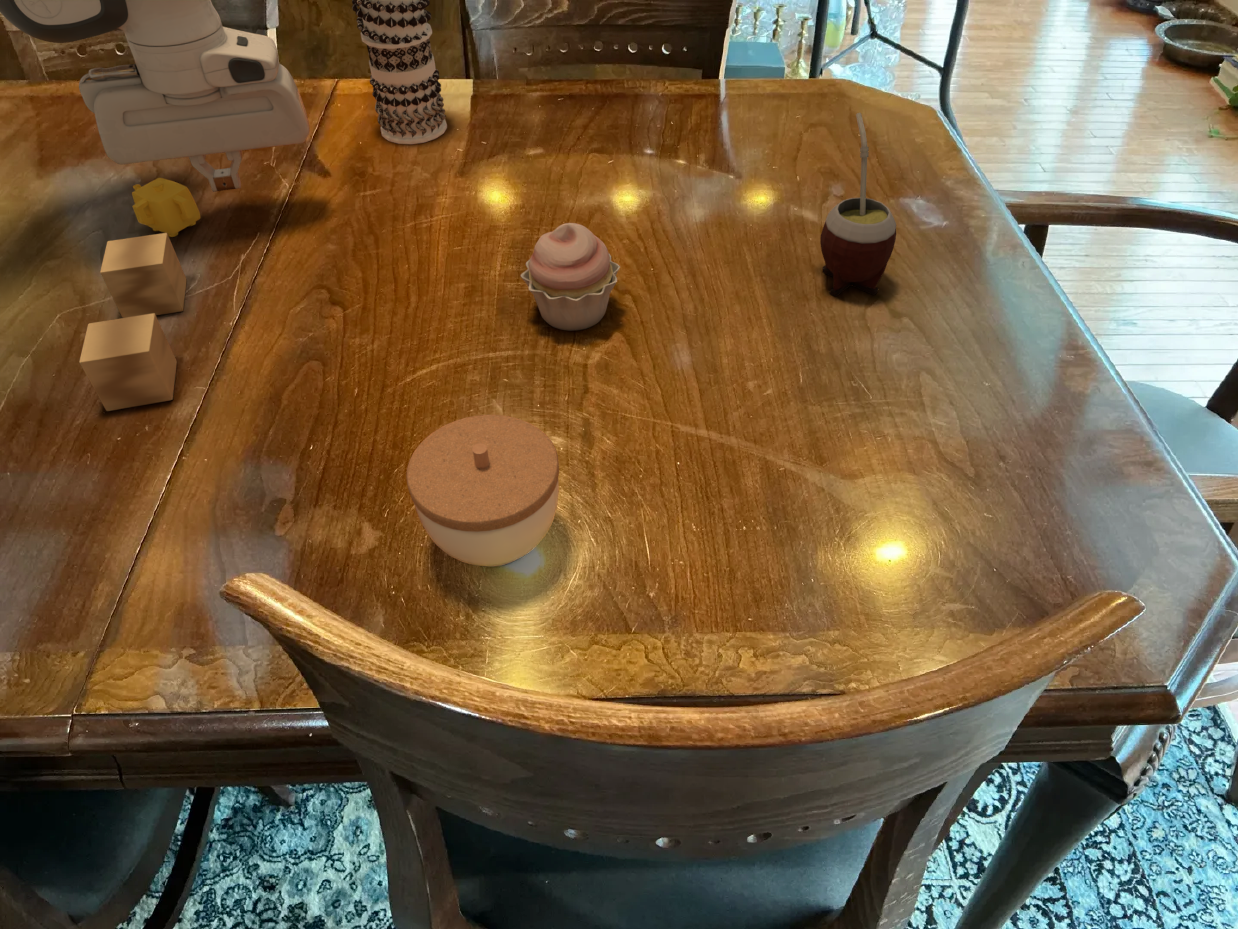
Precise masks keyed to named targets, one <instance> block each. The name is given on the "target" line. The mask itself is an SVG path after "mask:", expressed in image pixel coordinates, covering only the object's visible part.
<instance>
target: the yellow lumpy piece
mask: <svg viewBox="0 0 1238 929" xmlns="http://www.w3.org/2000/svg"><path fill="white" fill-rule="evenodd" d="M132 188H133V190H134V191H132V192H131V195H132V198H133V202H134V204H133V205H132V209H133V212H134V215H135V217H136V219H137V222H138V223H139V224H141V225H145V226H146V227H149V228H151V229H152V231H153V232H161V233H167V234H168V236H169V238H173V237H177V236H178V235H179V232H181V231H183V230H184V229H186V228H187V227H192V226H195V225H196V224H197V222H198V221H199V220H200V219H201V213H200V210H199V207H198V205H197V203H196V201H195V198H194V197H193V195H192V192H191V191H190V189H189V188H188V186H186V185H184V184H181V183H180V182H179V183H178V182H175V181H174V180H171V179H167V178H164V177H157V178H155V179H153V180H151V181H150V182H148V183H146V184H144V185H143V186H142V185H141V184H138V183H137V184H135V185H132Z"/></svg>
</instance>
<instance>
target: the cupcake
mask: <svg viewBox="0 0 1238 929" xmlns="http://www.w3.org/2000/svg"><path fill="white" fill-rule="evenodd" d="M525 266H526V268H527V269H526V270H525V271H523V272H522V273H521V274H520V278H521V279H522V280H523V281H524V283H525V284H526V286H527V287H528V291H529V292H530V293H531V295H532V296H533V298H534V300H535V302H536V305H537V308H538V310H539V313H540V315H541V318H542V319H543V320H544V321H545V322H546V324H548V325H549V326H551V327H553V328H555V329H558V330H561V331H567V332H569V331H582V330H586V329H589V328H591V327H594V326H595V325H597V324H598V323H600V321H601V320H602V319H603V318H604V316H605V314H606V311H607V310H608V309H607V308H608V304H609V300H610V294H611V292H612V291H613V289H614V288H615V286H616V284H617V282H618V277H617V274H618V272H619V271H620V268H621V266H620V265H619V264H618V263H616V262H614V261H613V260H612V255H611V254H610V252H609V250H608V248H607V246H606V244H605V243H604V241H603V240H601V239H600V238H599V237H597V236H596V235H595V234H594V233H593V232H592V231H591V230H590V229H589V228H587V227H586V226H584V225H582V224H579V223H575V222H565V223H563V224H560V225H558V226H557V227H555V229H554V230H553V231H549V232H546V233H543V234H542V235H541V236H540V237H539V239H538V240H537V242H536V243H535V245H534V248H533V252H532V254H531V256H530V258H529V259H528V260H527V261H526V262H525Z"/></svg>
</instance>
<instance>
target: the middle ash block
mask: <svg viewBox="0 0 1238 929" xmlns="http://www.w3.org/2000/svg"><path fill="white" fill-rule="evenodd" d="M179 260H180V259H179V258H178V256H177V253H176V251H175V249H174V246H173V244H172V242H171V239H170V237H169V236H168V233H164V232H161V233H156V234H155V233H154V234H149V235H142V236H134V237H127V238H120V239H114V240H108V241H106V246H105V250H104V254H103V258H102V263H101V267H100V271H99V273H100V275H101V277H102V279H103V281H104V283H105V286H106V288H107V289H108V291H109V294H110V295H111V298H112V299H113V301H114V303H115V305H116V307H117V310H118V312H119V314H120V316H121V318H127V317H133V316H140V315H146V314H152V313H155V315H156V316H161V315H167V314H174V313H180V312H183V311H184V307H185V298H186V291H187V290H186V289H187V281H188V280H187V277H186V275H185V273H184V270H183V268H182V265H181V262H180V261H179Z"/></svg>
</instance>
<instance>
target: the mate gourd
mask: <svg viewBox="0 0 1238 929" xmlns="http://www.w3.org/2000/svg"><path fill="white" fill-rule="evenodd" d="M855 116H856V121H857V126H858V130H859V138H860V145H861V146H860V148H859V157H860V158H861V162H860V189H859V190H860V191H859V197H850V198H847V199H842V200H841V201H840V202H839V203H837V204H836V205H835V206H834V207H833V208H831V210H830V211H829V212H828V213H827V216H826V219H825V221H824V224H823V226H822V229H821V233H820V238H819V239H820V242H819V243H820V250H821V254H822V259H823V261H824V263H825V265H824V266H822V267H821V269H822V270H821V272H822V273H823V274H825V275H826V276H830V277H832V278H833V286H832V287H831V288H830V290H829V294H830V295H831V296H832V297H838V296H839V295H840V294H841V293H843V292H844V291H845V290H846V289H848V288H849V287H854V288H857V289H859V290H861V291H863V292H865V293H868V294H870V295H872V296H873V295H876V294H877V293H878V291H879V289H880V288H879V287H878V284H879V281H881V279H882V277H883V275H884V273H885V271H886V268H887V265H888V263H889V260H890V258H891V256H892V255H893V251H894V248H895V244H896V239H897V222H896V220H895V217H894V215H893V213H892V211H891V210H890V208H889V207H888V206H887V205H886V204H884V203H883V202H882V201H878V200H876V199H874V198H868V197H867V172H868V158H869V156H870V155H869V148H870V146H868V139H867V133H866V129H865V125H864V120H863V119H864V118H863V115H862V113H861V112H857V113H856V114H855Z"/></svg>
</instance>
